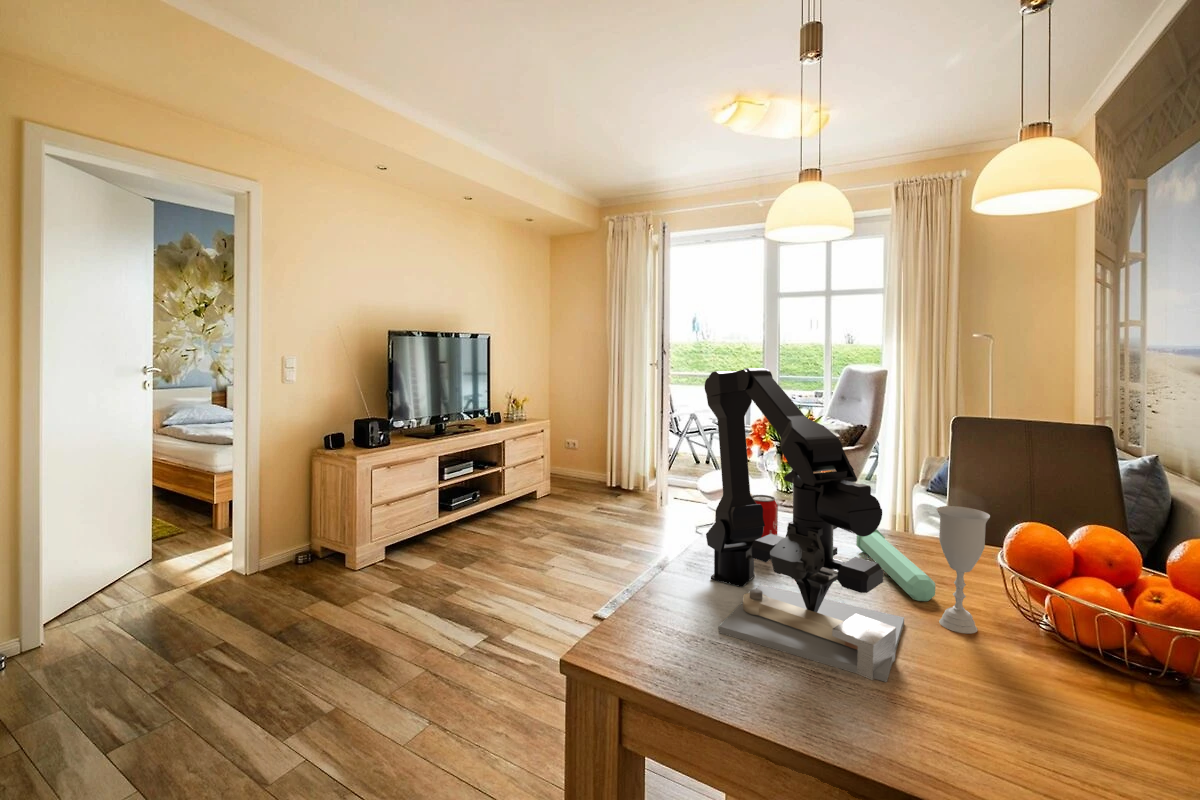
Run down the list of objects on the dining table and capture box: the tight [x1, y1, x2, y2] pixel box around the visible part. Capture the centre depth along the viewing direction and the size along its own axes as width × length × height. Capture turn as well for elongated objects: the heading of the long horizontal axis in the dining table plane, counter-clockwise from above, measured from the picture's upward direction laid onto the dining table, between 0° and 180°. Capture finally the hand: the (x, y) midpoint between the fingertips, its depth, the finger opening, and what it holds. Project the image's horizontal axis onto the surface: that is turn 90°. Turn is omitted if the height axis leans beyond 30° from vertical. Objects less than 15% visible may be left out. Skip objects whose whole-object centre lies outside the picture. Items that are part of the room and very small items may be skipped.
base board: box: [718, 583, 905, 683], centre depth 85 cm, size 23×19×1 cm
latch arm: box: [742, 588, 858, 650], centre depth 83 cm, size 19×4×3 cm, turn 46°
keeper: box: [832, 614, 896, 681], centre depth 75 cm, size 6×7×5 cm
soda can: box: [751, 494, 779, 538], centre depth 118 cm, size 6×6×12 cm
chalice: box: [936, 505, 991, 634], centre depth 85 cm, size 7×7×18 cm
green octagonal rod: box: [855, 528, 936, 602], centre depth 105 cm, size 6×6×25 cm
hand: (812, 614), depth 84 cm, fingers closed
